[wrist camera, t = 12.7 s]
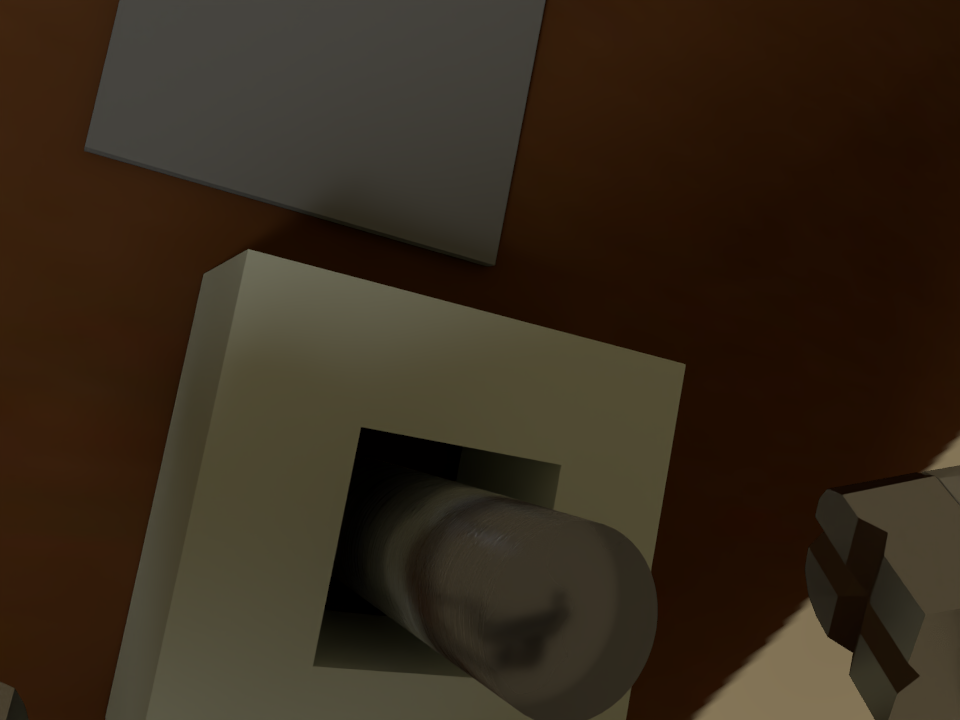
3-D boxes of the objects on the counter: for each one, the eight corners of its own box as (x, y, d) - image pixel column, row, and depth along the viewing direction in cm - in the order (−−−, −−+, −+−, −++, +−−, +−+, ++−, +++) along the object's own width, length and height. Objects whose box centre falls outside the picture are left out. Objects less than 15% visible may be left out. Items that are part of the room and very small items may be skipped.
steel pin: (403, 585, 23) (639, 728, 14) (288, 572, 22) (466, 720, 13) (427, 468, 23) (672, 534, 14) (314, 447, 22) (506, 506, 13)
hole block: (503, 734, 24) (608, 818, 20) (105, 717, 20) (124, 818, 16) (570, 364, 25) (685, 364, 21) (203, 274, 21) (248, 248, 16)
